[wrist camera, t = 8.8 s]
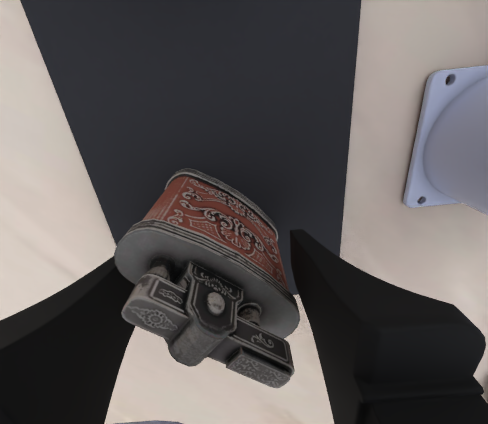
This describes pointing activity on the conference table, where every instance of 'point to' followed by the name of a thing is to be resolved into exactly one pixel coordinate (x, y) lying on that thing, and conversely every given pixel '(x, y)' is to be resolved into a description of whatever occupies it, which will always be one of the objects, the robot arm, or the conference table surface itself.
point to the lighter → (211, 279)
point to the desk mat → (209, 101)
